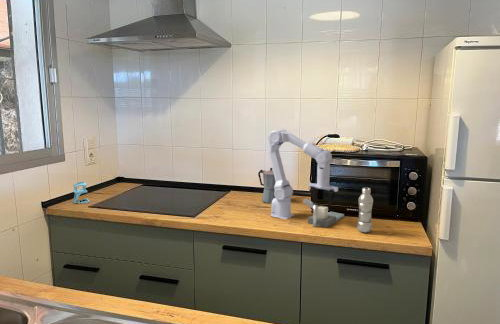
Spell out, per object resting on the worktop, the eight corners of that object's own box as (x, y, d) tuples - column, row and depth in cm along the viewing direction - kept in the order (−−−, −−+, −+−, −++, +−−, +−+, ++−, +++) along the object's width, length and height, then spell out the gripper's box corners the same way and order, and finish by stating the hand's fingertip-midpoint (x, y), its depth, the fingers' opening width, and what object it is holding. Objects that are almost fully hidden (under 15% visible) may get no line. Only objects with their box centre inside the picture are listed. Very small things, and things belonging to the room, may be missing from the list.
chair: (72, 202, 220) (70, 182, 218) (87, 199, 225) (85, 180, 223) (74, 205, 214) (72, 184, 212) (90, 202, 219) (88, 182, 216)
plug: (316, 223, 182) (316, 207, 180) (320, 221, 185) (320, 205, 183) (323, 225, 179) (324, 208, 178) (327, 223, 182) (328, 207, 181)
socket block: (307, 223, 181) (307, 217, 181) (317, 218, 189) (317, 212, 188) (326, 228, 175) (326, 221, 175) (336, 222, 183) (336, 216, 182)
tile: (319, 218, 190) (319, 215, 190) (327, 213, 197) (327, 210, 197) (336, 221, 184) (336, 218, 184) (343, 216, 191) (344, 214, 191)
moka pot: (276, 205, 213) (277, 170, 209) (253, 201, 221) (253, 167, 217) (284, 201, 221) (284, 167, 217) (261, 197, 229) (261, 165, 225)
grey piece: (317, 227, 176) (318, 205, 174) (314, 227, 175) (314, 205, 174) (306, 218, 188) (306, 198, 186) (302, 218, 188) (303, 198, 186)
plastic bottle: (357, 233, 168) (359, 189, 164) (356, 228, 174) (357, 186, 171) (372, 234, 167) (375, 190, 163) (370, 229, 173) (372, 186, 170)
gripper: (305, 175, 179) (304, 203, 182) (333, 179, 171) (333, 208, 173) (312, 173, 185) (311, 200, 187) (340, 177, 176) (339, 205, 178)
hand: (322, 204), depth 180 cm, fingers open, 7 cm apart
